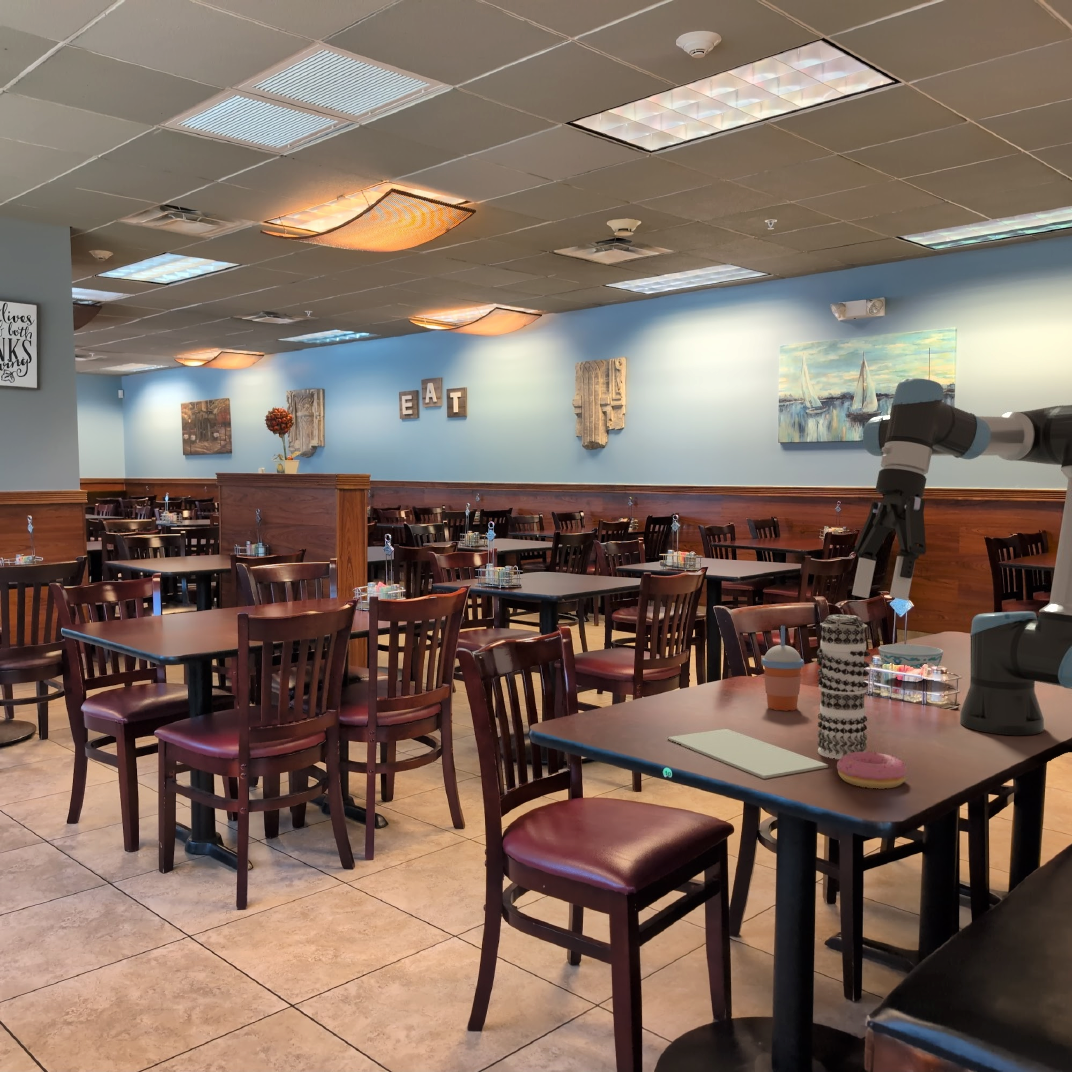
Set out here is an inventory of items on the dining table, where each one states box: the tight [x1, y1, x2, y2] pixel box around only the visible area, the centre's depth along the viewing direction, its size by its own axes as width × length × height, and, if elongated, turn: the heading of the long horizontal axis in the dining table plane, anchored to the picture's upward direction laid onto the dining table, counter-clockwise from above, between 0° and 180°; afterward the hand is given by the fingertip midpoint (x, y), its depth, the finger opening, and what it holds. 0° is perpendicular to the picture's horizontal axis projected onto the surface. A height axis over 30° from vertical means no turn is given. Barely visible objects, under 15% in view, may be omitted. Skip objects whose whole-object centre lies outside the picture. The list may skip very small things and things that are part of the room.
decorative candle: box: [816, 614, 871, 760], centre depth 175 cm, size 9×9×25 cm
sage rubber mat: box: [667, 728, 829, 779], centre depth 176 cm, size 28×14×1 cm, turn 27°
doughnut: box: [836, 750, 908, 790], centre depth 160 cm, size 11×11×4 cm
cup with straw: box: [760, 625, 805, 712], centre depth 212 cm, size 9×9×18 cm
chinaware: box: [878, 643, 944, 668], centre depth 242 cm, size 15×15×8 cm
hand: (878, 597), depth 160 cm, fingers open, 13 cm apart
